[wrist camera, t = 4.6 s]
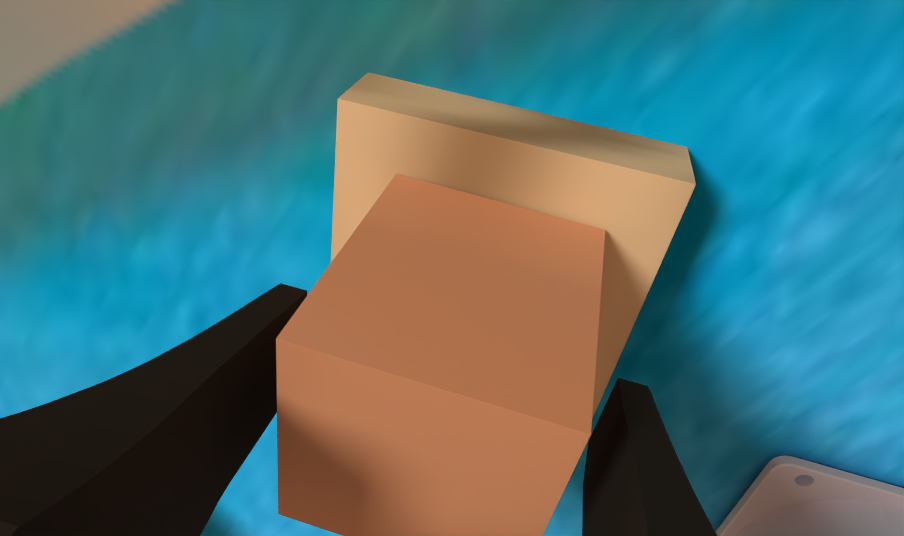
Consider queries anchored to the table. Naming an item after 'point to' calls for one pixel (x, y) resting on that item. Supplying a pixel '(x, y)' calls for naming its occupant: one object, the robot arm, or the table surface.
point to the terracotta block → (440, 370)
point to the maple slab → (519, 179)
